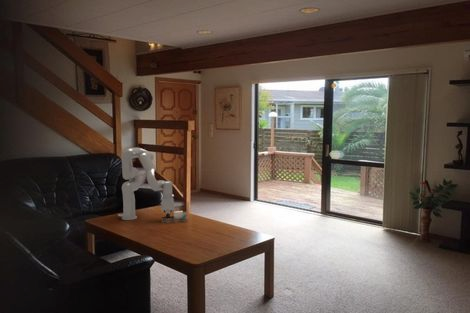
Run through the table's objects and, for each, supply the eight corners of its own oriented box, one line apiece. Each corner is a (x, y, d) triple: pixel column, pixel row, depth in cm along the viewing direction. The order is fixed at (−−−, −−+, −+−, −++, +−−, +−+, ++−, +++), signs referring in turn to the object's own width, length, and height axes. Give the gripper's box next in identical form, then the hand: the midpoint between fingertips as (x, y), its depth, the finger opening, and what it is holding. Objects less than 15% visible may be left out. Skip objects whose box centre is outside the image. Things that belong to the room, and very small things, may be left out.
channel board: (161, 223, 313) (161, 216, 312) (161, 219, 325) (161, 213, 324) (186, 222, 316) (186, 215, 316) (185, 218, 328) (185, 212, 328)
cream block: (174, 219, 318) (174, 212, 318) (174, 218, 323) (173, 211, 322) (182, 219, 320) (182, 212, 319) (182, 217, 324) (182, 210, 323)
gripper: (176, 195, 323) (176, 216, 325) (158, 195, 320) (158, 217, 322) (177, 196, 315) (177, 219, 317) (158, 197, 313) (158, 219, 315)
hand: (167, 218), depth 320 cm, fingers closed
